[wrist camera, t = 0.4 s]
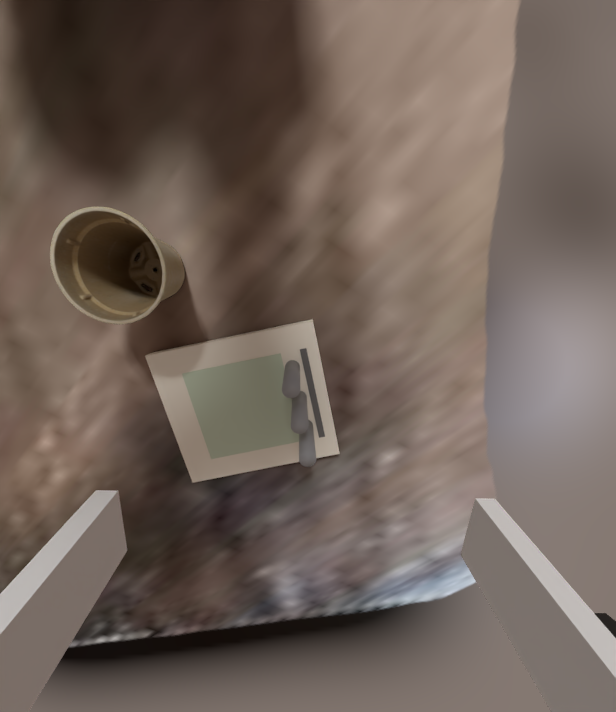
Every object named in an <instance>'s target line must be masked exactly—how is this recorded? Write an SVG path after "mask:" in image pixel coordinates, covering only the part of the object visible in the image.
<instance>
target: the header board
mask: <svg viewBox="0 0 616 712" xmlns="http://www.w3.org/2000/svg"><path fill="white" fill-rule="evenodd" d="M145 357H146V360H147V363H148V365H149V368H150V371H151V373H152V376H153V379H154V381H155V384H156V387H157V389H158V392H159V395H160V397H161V400H162V403H163V405H164V408H165V411H166V413H167V416H168V419H169V421H170V424H171V427H172V429H173V432H174V435H175V437H176V440H177V443H178V445H179V448H180V451H181V453H182V456H183V459H184V461H185V464H186V467H187V469H188V472H189V475H190V477H191V480H192V483H194V482H199V481H204V480H209V479H214V478H219V477H224V476H229V475H234V474H240V473H245V472H250V471H255V470H260V469H265V468H270V467H275V466H280V465H285V464H290V463H295V462H300V464H301V465H303V466H305V467H310V466H313V465H314V464H315V462H316V458H321V457H326V456H331V455H336V454H340V453H339V448H338V443H337V438H336V433H335V428H334V423H333V418H332V413H331V408H330V403H329V398H328V393H327V388H326V383H325V378H324V373H323V368H322V363H321V358H320V353H319V348H318V343H317V338H316V334H315V329H314V324H313V319H311V320H306V321H301V322H297V323H292V324H287V325H282V326H277V327H273V328H268V329H263V330H258V331H253V332H249V333H244V334H239V335H234V336H230V337H225V338H220V339H215V340H210V341H206V342H201V343H196V344H191V345H186V346H182V347H177V348H172V349H167V350H162V351H158V352H153V353H149V354H147V355H145Z"/></svg>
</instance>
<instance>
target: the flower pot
mask: <svg viewBox="0 0 616 712" xmlns="http://www.w3.org/2000/svg"><path fill="white" fill-rule="evenodd" d="M138 253H140V256H139V258H140V259H138V260H137V261H134V260H135V257H136V255H137V254H138ZM50 261H51V268H52V272H53V275H54V278H55V280H56V283H57V284H58V286H59V288H60V290H61V291H62V293H63V294H64V296H65V297H66V298H67V299H68V301H69V302H70V303H71V304H72V305H74V307H76V308H77V309H78V310H79V311H81V312H82V313H84V314H85V315H87V316H89V317H91V318H93V319H95V320H98V321H101V322H104V323H110V324H128V323H133V322H136V321H138V320H141V319H142V318H144V317H146V316H147V315H149V314H150V313H151V312H152V311H153V310H154V309H155V308H156V307H157V306H158V304H159V303H160V301H162V300H164V299H166V298H168V297H170V296H172V295H174V294H175V293H176V292H177V291H178V290H179V289H180V288H181V286H182V284H183V281H184V277H185V271H184V266H183V263H182V260H181V257H180V256H179V254H178V253H177V252H176V251H175V250H174V249H173V248H172V247H171V246H170V245H168V244H166V243H164V242H162V241H160V240H158V239H157V238H155V237H153V235H152V234H151V233H150V232H149V231H148V230H147V228H146V227H145V226H143V225H142V224H141V223H140V222H139V221H137V220H136V219H134V218H133V217H131V216H129V215H127V214H125V213H123V212H121V211H118V210H115V209H112V208H107V207H88V208H83V209H80V210H77V211H75V212H73V213H72V214H70V215H68V216H67V217H66V218H65V219H64V220H63V221H62V222H61V223H60V224H59V226H58V227H57V228H56V231H55V232H54V234H53V239H52V243H51V248H50ZM154 268H157V272H154V271H153V269H154ZM142 284H146V285H147V286H149V287H150V288H152V292H149V291H147V290H146V289H145V288H144V287H143V286H142Z"/></svg>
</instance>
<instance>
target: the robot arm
mask: <svg viewBox="0 0 616 712" xmlns="http://www.w3.org/2000/svg"><path fill="white" fill-rule="evenodd" d="M126 552H127V546H126V539H125V532H124V526H123V519H122V512H121V506H120V499H119V493H118V491H111V490H96V491H95V492H94V493H93V494H92V495H91V496H90V497H89V498H88V499H87V501H86V502H85V503H84V504H83V505H82V506H81V507H80V508H79V509H78V510H77V511H76V512H75V514H74V515H73V516H72V517H71V518H70V519H69V520H68V521H67V522H66V523H65V524H64V525H63V527H62V528H61V529H60V530H59V531H58V532H57V533H56V534H55V535H54V536H53V537H52V538H51V540H50V541H49V542H48V543H47V544H46V545H45V546H44V547H43V548H42V549H41V550H40V551H39V553H38V554H37V555H36V556H35V557H34V558H33V559H32V560H31V561H30V562H29V563H28V565H27V566H26V567H25V568H24V569H23V570H22V571H21V572H20V573H19V574H18V575H17V576H16V578H15V579H14V580H13V581H12V582H11V583H10V584H9V585H8V586H7V587H6V588H5V589H4V591H3V592H2V593H1V594H0V712H29V710H30V709H31V707H32V705H33V704H34V702H35V700H36V699H37V697H38V696H39V694H40V692H41V691H42V689H43V687H44V686H45V684H46V682H47V681H48V679H49V678H50V676H51V674H52V673H53V671H54V669H55V668H56V666H57V665H58V663H59V661H60V660H61V658H62V656H63V655H64V653H65V651H66V650H67V648H68V647H69V645H70V643H71V642H72V640H73V638H74V637H75V635H76V633H77V632H78V630H79V629H80V627H81V625H82V624H83V622H84V620H85V619H86V617H87V615H88V614H89V612H90V611H91V609H92V607H93V606H94V604H95V602H96V601H97V599H98V597H99V596H100V594H101V593H102V591H103V589H104V588H105V586H106V584H107V583H108V581H109V579H110V578H111V576H112V575H113V573H114V571H115V570H116V568H117V566H118V565H119V563H120V561H121V560H122V558H123V557H124V555H125V553H126ZM461 556H462V558H463V560H464V561H465V563H466V565H467V566H468V568H469V570H470V572H471V573H472V575H473V577H474V579H475V580H476V582H477V584H478V586H479V587H480V589H481V591H482V593H483V594H484V596H485V598H486V600H487V601H488V603H489V605H490V607H491V608H492V610H493V612H494V613H495V615H496V617H497V619H498V620H499V622H500V624H501V626H502V627H503V629H504V631H505V633H506V634H507V636H508V638H509V640H510V641H511V643H512V645H513V646H514V648H515V650H516V652H517V653H518V655H519V657H520V659H521V660H522V662H523V664H524V666H525V667H526V669H527V671H528V672H529V674H530V676H531V678H532V680H533V681H534V683H535V684H536V687H537V688H538V690H539V692H540V693H541V695H542V697H543V699H544V700H545V702H546V704H547V706H548V707H549V709H550V711H551V712H616V621H615V620H613V619H612V618H611V617H610V616H608V615H607V614H606V613H595V614H594V613H593V612H592V610H591V609H590V608H589V607H588V606H587V605H586V604H585V602H584V601H583V600H582V599H581V598H580V597H579V595H578V594H577V593H576V592H575V591H574V590H573V589H572V587H571V586H570V585H569V584H568V583H567V582H566V581H565V579H564V578H563V577H562V576H561V575H560V573H559V572H558V571H557V570H556V569H555V568H554V567H553V565H552V564H551V563H550V562H549V561H548V560H547V558H546V557H545V556H544V555H543V554H542V553H541V551H540V550H539V549H538V548H537V547H536V546H535V545H534V543H533V542H532V541H531V540H530V539H529V538H528V537H527V535H526V534H525V533H524V532H523V531H522V530H521V528H520V527H519V526H518V525H517V524H516V523H515V522H514V520H513V519H512V518H511V517H510V516H509V515H508V513H507V512H506V511H505V510H504V509H503V508H502V506H501V505H500V504H499V503H498V502H497V501H496V500H495V499H482V498H475V501H474V505H473V509H472V513H471V517H470V520H469V524H468V528H467V532H466V536H465V540H464V543H463V547H462V551H461Z"/></svg>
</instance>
